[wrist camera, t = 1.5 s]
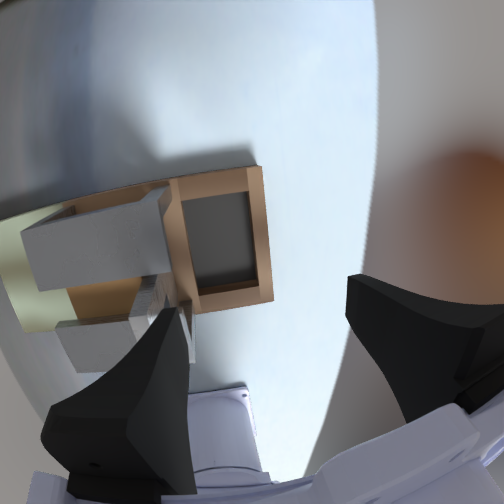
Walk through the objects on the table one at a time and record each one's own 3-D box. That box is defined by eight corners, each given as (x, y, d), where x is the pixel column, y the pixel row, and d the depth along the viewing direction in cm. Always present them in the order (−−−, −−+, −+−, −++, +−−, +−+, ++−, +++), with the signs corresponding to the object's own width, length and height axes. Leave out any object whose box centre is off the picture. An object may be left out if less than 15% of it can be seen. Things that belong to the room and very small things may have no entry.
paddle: (178, 295, 20) (170, 381, 12) (167, 296, 20) (154, 383, 12) (160, 213, 18) (131, 265, 10) (148, 215, 18) (112, 268, 10)
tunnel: (194, 311, 21) (195, 363, 16) (98, 323, 20) (77, 372, 15) (170, 184, 18) (157, 200, 13) (62, 207, 17) (19, 231, 12)
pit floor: (255, 277, 23) (256, 279, 23) (198, 286, 22) (198, 288, 22) (245, 187, 20) (246, 188, 20) (182, 197, 20) (181, 198, 20)
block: (162, 289, 20) (154, 323, 16) (100, 298, 20) (82, 331, 16) (146, 222, 19) (132, 243, 14) (81, 235, 18) (55, 257, 14)
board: (269, 292, 24) (274, 301, 22) (31, 324, 21) (24, 332, 20) (257, 165, 20) (261, 166, 19) (-5, 222, 17) (-15, 227, 16)
